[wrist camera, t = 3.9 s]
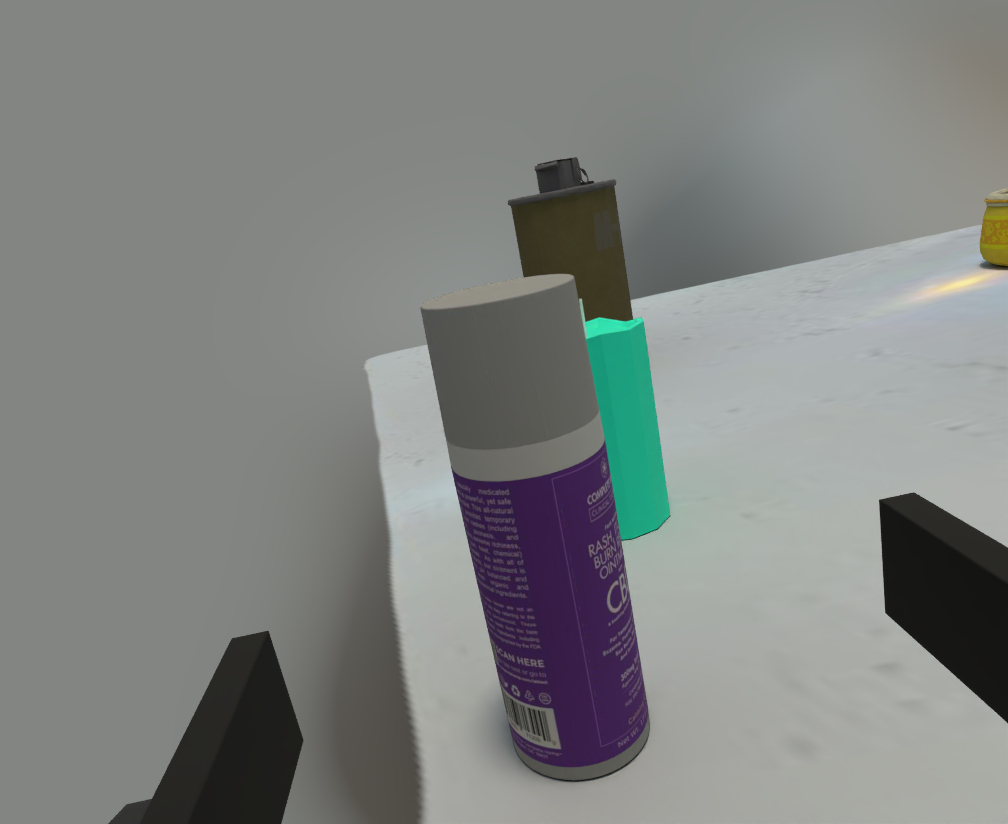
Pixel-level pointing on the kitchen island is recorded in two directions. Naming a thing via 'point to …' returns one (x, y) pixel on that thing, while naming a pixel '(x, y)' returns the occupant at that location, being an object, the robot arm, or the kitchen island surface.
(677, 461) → the kitchen island surface
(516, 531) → the container
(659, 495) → the candle
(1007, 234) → the mug
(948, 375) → the kitchen island surface
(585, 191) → the canister
